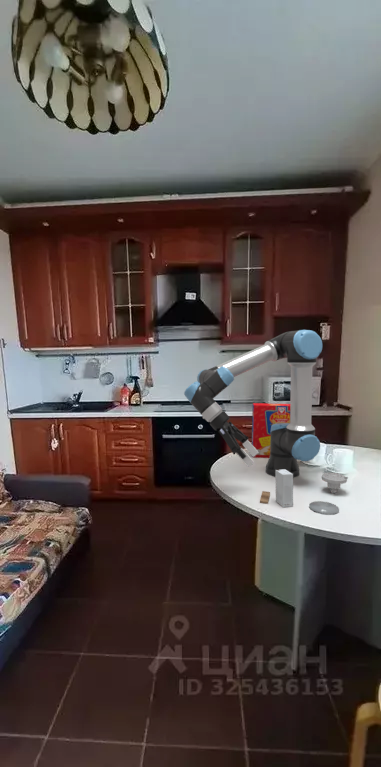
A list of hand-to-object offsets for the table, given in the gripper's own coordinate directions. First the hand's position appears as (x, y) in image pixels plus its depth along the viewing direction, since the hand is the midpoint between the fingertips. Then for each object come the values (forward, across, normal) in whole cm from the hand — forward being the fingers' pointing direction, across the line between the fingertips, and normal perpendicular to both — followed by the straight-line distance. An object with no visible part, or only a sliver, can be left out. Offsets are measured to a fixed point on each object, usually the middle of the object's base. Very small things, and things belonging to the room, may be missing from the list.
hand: (253, 459), depth 138 cm
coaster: (+29, 0, +7) cm, 30 cm away
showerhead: (+32, -18, +11) cm, 38 cm away
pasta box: (+14, -63, -7) cm, 65 cm away
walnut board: (+14, -3, -8) cm, 16 cm away
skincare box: (+19, 0, -3) cm, 19 cm away
